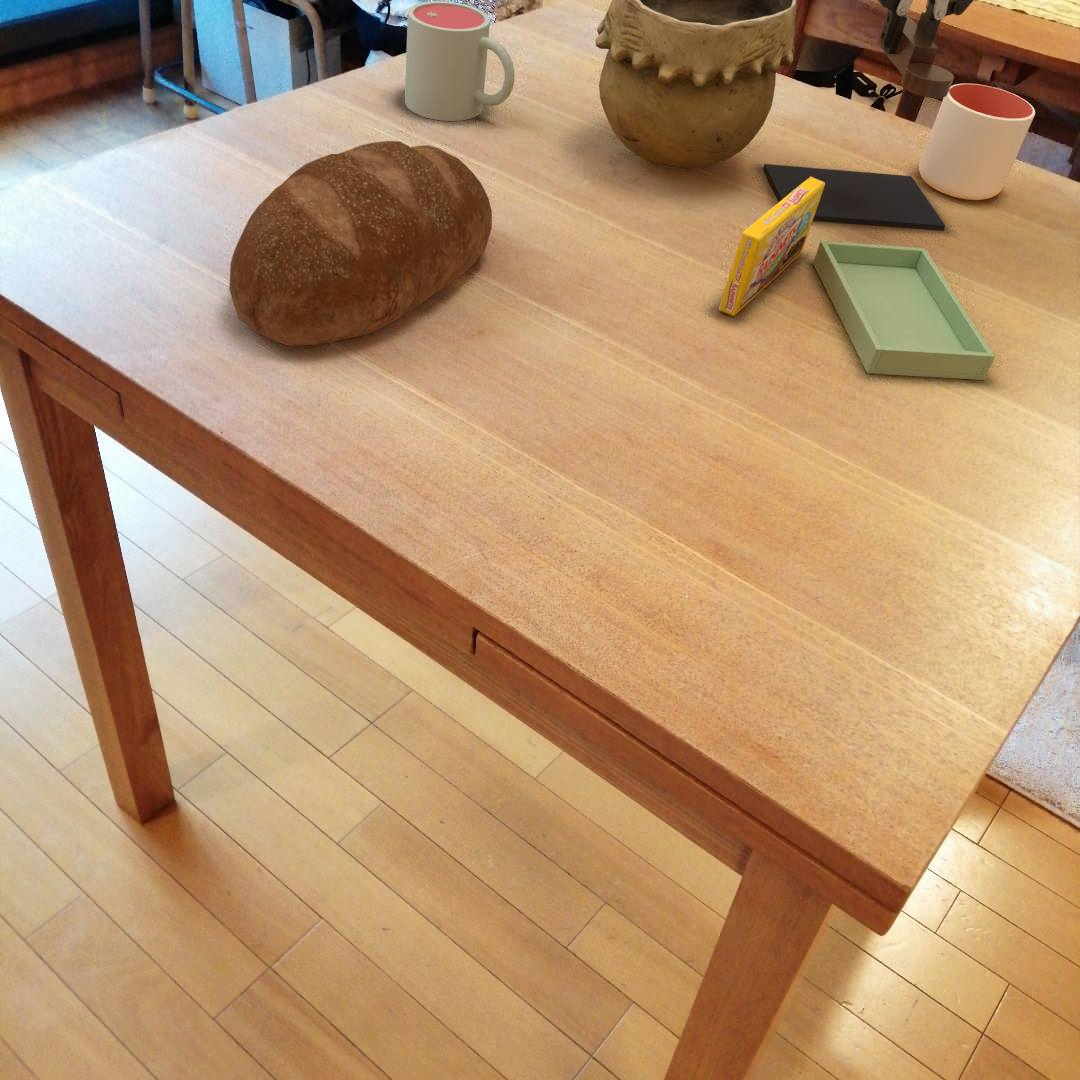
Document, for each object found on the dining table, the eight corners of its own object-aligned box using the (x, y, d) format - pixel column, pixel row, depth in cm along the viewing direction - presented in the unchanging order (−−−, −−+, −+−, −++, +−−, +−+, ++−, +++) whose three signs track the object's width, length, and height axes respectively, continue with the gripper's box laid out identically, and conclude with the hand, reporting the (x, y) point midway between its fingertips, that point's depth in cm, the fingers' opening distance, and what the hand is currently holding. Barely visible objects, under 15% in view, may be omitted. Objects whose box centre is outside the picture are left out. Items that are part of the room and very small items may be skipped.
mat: (909, 180, 129) (911, 175, 128) (943, 230, 120) (945, 225, 120) (762, 168, 126) (764, 163, 126) (787, 218, 118) (788, 213, 117)
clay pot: (723, 224, 115) (773, 27, 101) (547, 162, 121) (572, -32, 107) (786, 159, 129) (837, -22, 116) (625, 106, 135) (656, -72, 121)
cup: (1016, 196, 129) (1053, 112, 122) (962, 210, 125) (998, 125, 118) (951, 160, 135) (983, 78, 128) (898, 173, 130) (928, 89, 123)
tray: (916, 270, 113) (925, 248, 111) (984, 380, 99) (995, 356, 97) (812, 263, 111) (820, 240, 109) (867, 373, 97) (876, 349, 96)
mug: (388, 103, 127) (391, 13, 120) (435, 82, 133) (439, -5, 127) (486, 141, 123) (494, 50, 116) (529, 117, 129) (539, 29, 122)
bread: (187, 312, 92) (172, 185, 84) (397, 195, 111) (401, 83, 103) (334, 384, 87) (332, 257, 79) (526, 249, 106) (540, 136, 99)
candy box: (737, 320, 101) (759, 239, 96) (716, 311, 102) (738, 230, 96) (803, 256, 112) (827, 180, 106) (784, 249, 113) (807, 173, 107)
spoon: (908, 46, 115) (918, 16, 112) (954, 100, 105) (966, 68, 103) (866, 42, 114) (876, 12, 112) (909, 96, 104) (920, 64, 102)
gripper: (908, -141, 95) (847, 61, 107) (1055, -123, 97) (979, 73, 109) (882, -161, 101) (827, 33, 113) (1022, -144, 103) (953, 45, 115)
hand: (902, 52), depth 111 cm, fingers closed on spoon, 2 cm apart
